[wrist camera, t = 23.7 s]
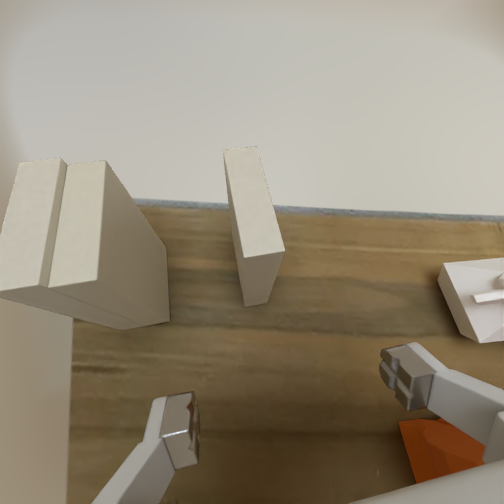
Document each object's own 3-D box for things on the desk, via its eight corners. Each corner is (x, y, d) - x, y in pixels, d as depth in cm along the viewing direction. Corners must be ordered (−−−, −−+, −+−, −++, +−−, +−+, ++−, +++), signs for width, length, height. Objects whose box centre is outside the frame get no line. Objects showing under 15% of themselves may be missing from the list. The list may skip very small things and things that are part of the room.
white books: (120, 330, 26) (-17, 293, 12) (123, 254, 30) (19, 162, 16) (170, 321, 27) (90, 276, 13) (166, 248, 30) (101, 152, 17)
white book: (244, 307, 27) (243, 257, 15) (232, 237, 31) (222, 149, 18) (267, 303, 28) (285, 250, 15) (252, 234, 31) (256, 145, 19)
